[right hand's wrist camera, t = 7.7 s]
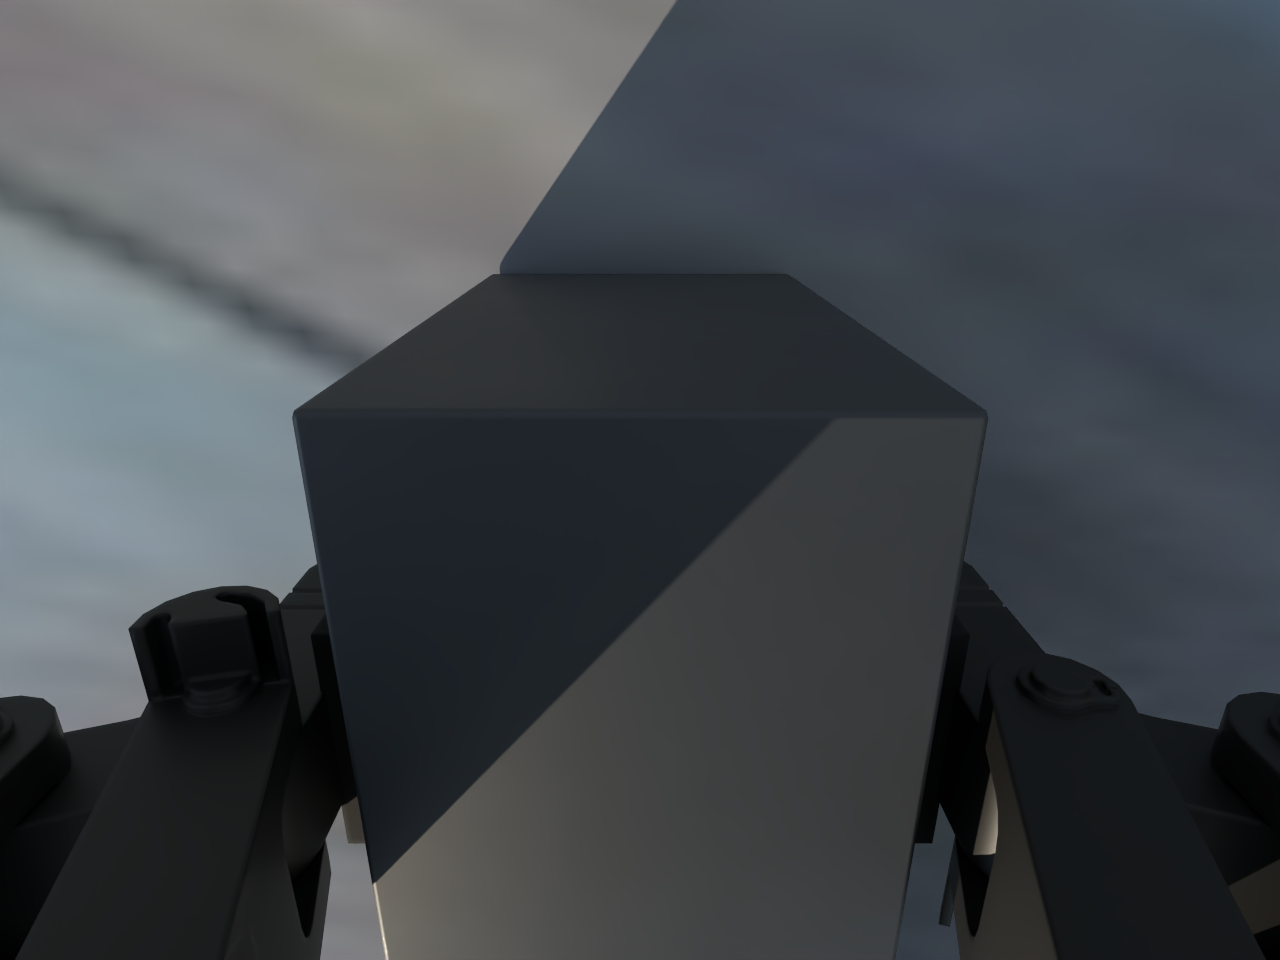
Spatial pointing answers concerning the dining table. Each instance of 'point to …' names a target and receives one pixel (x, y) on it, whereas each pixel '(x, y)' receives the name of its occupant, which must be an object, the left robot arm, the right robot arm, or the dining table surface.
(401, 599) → the beam
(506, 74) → the dining table surface
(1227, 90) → the dining table surface
